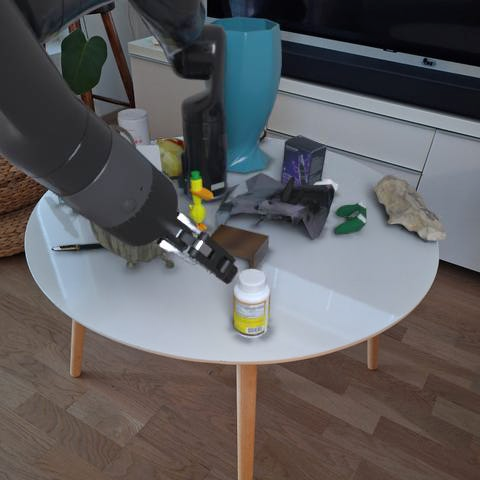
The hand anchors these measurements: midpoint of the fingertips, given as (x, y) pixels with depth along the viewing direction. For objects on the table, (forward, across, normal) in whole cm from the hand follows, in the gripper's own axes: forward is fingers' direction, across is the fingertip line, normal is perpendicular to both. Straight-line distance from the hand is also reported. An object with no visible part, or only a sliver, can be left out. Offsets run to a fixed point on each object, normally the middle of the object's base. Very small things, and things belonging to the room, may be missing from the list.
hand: (206, 260), depth 55 cm
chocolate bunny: (+31, +54, -18) cm, 65 cm away
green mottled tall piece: (+19, +28, +5) cm, 34 cm away
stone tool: (+46, -8, -30) cm, 55 cm away
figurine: (+47, +19, -30) cm, 59 cm away
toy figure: (+29, +29, -8) cm, 42 cm away
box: (+47, +27, -30) cm, 62 cm away
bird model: (+39, +19, -20) cm, 47 cm away
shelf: (+29, +18, -7) cm, 34 cm away
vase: (+47, +47, -31) cm, 73 cm away
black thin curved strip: (+51, +52, -41) cm, 84 cm away
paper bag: (+37, +20, -17) cm, 45 cm away
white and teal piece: (+18, +36, -11) cm, 42 cm away
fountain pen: (+17, +40, +7) cm, 44 cm away
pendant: (+18, +55, +2) cm, 58 cm away
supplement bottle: (+21, +2, +4) cm, 22 cm away
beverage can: (+32, +56, -12) cm, 66 cm away
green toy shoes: (+44, +9, -26) cm, 51 cm away
